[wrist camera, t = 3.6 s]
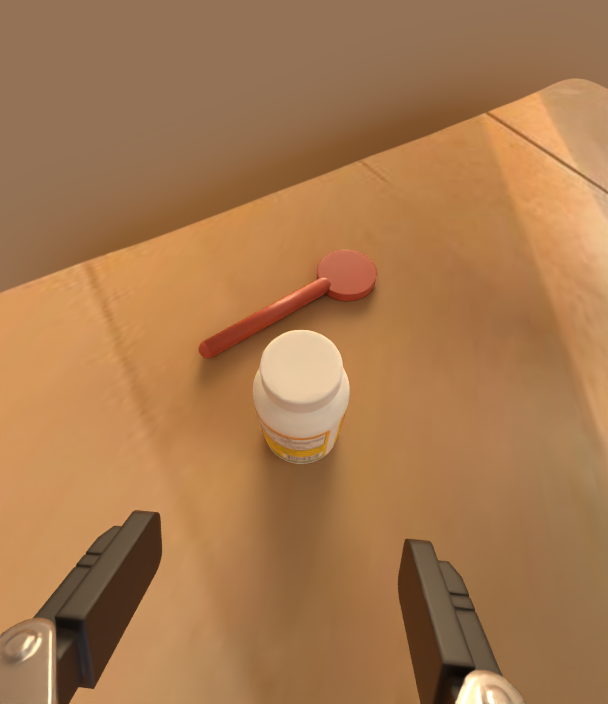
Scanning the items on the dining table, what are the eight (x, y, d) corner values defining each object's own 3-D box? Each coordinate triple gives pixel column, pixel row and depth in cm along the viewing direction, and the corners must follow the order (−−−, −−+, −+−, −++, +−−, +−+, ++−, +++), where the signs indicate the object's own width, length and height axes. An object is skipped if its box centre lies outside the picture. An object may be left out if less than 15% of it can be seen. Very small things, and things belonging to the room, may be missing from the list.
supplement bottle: (299, 482, 24) (297, 444, 15) (248, 425, 25) (220, 363, 17) (355, 427, 25) (380, 366, 17) (303, 377, 27) (302, 300, 19)
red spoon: (217, 382, 27) (213, 374, 26) (187, 334, 29) (182, 325, 28) (387, 283, 32) (390, 273, 30) (350, 248, 34) (352, 237, 33)
